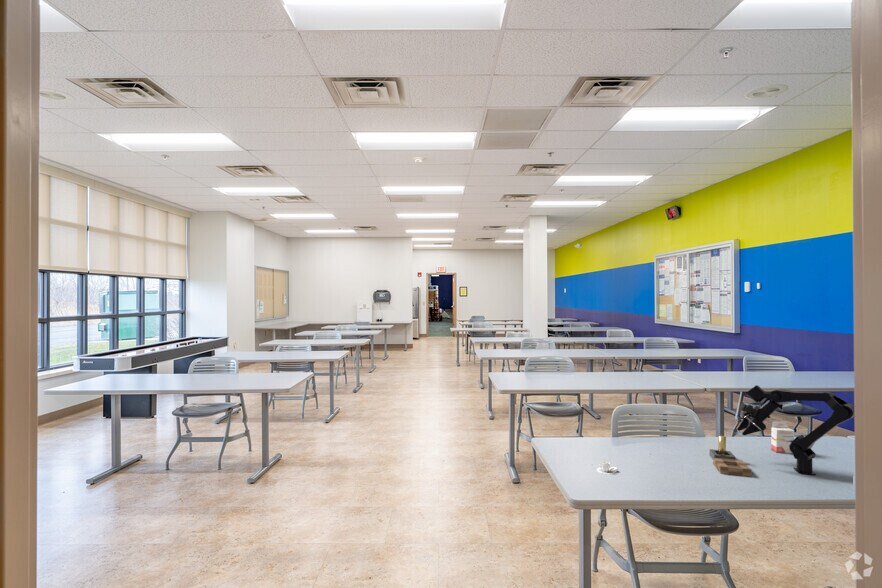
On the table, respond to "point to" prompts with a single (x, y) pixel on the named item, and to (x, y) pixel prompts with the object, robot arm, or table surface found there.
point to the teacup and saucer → (607, 468)
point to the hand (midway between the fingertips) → (740, 432)
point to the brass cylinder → (722, 445)
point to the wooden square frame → (731, 467)
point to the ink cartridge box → (781, 437)
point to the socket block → (715, 455)
